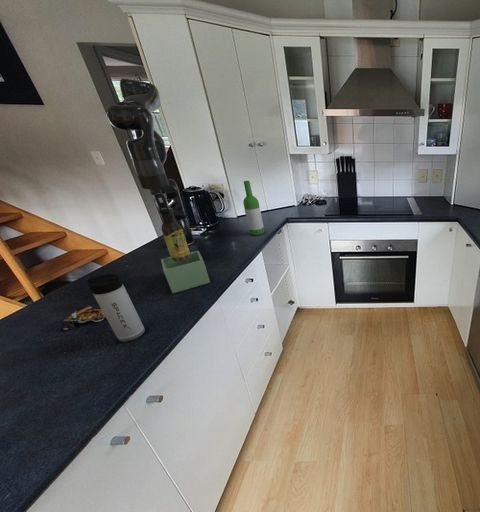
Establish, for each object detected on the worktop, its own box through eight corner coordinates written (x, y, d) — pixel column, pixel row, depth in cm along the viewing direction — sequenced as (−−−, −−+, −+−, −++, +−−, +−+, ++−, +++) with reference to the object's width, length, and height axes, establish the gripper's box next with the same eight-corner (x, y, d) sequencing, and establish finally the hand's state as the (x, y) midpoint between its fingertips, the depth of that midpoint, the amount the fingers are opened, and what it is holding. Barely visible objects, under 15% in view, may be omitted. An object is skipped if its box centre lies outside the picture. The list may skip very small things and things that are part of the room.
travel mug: (127, 328, 85) (98, 272, 76) (150, 327, 85) (124, 272, 77) (111, 342, 79) (78, 284, 71) (135, 341, 80) (105, 283, 71)
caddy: (169, 280, 110) (160, 259, 106) (205, 271, 118) (198, 250, 113) (172, 293, 102) (163, 270, 98) (210, 282, 110) (203, 260, 105)
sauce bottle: (181, 263, 102) (163, 212, 93) (167, 261, 103) (148, 211, 94) (195, 255, 108) (179, 207, 99) (182, 253, 109) (165, 205, 100)
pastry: (115, 317, 90) (110, 308, 88) (63, 331, 83) (57, 322, 82) (118, 306, 95) (113, 298, 93) (69, 319, 88) (63, 310, 87)
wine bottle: (258, 236, 154) (246, 183, 140) (247, 235, 156) (235, 181, 143) (267, 232, 160) (257, 180, 147) (256, 230, 162) (246, 179, 149)
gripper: (136, 171, 94) (154, 218, 102) (136, 177, 84) (156, 229, 92) (163, 169, 98) (178, 214, 106) (166, 174, 89) (183, 224, 96)
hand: (168, 221), depth 99 cm, fingers closed on sauce bottle, 4 cm apart
